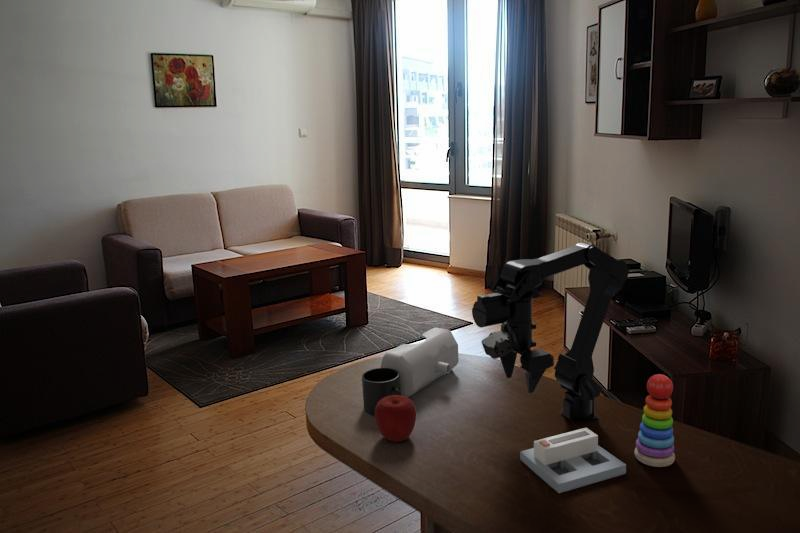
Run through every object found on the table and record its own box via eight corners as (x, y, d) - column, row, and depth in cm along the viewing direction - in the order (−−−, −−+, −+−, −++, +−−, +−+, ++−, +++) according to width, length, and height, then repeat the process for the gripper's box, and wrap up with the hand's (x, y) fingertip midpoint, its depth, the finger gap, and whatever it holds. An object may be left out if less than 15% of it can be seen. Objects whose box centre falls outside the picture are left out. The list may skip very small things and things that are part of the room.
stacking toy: (655, 472, 136) (659, 386, 132) (626, 455, 143) (628, 373, 139) (683, 461, 140) (688, 377, 135) (652, 445, 147) (656, 364, 142)
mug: (388, 423, 163) (386, 388, 161) (356, 409, 172) (354, 375, 169) (416, 410, 169) (414, 376, 167) (383, 396, 178) (381, 364, 176)
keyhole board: (583, 443, 149) (583, 434, 149) (625, 473, 137) (626, 464, 136) (520, 460, 144) (520, 451, 143) (558, 493, 131) (558, 484, 130)
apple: (425, 440, 154) (423, 399, 152) (389, 452, 149) (386, 411, 147) (403, 424, 162) (401, 385, 160) (368, 436, 157) (365, 396, 155)
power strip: (585, 449, 146) (586, 426, 145) (597, 457, 142) (598, 434, 141) (533, 463, 141) (533, 439, 140) (544, 472, 138) (544, 448, 136)
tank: (422, 408, 170) (420, 362, 167) (372, 395, 180) (370, 350, 177) (473, 374, 189) (472, 332, 187) (426, 363, 199) (424, 323, 196)
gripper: (466, 313, 154) (468, 377, 158) (508, 337, 137) (509, 408, 141) (509, 305, 158) (510, 368, 161) (555, 328, 141) (555, 398, 145)
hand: (519, 385), depth 152 cm, fingers open, 9 cm apart
